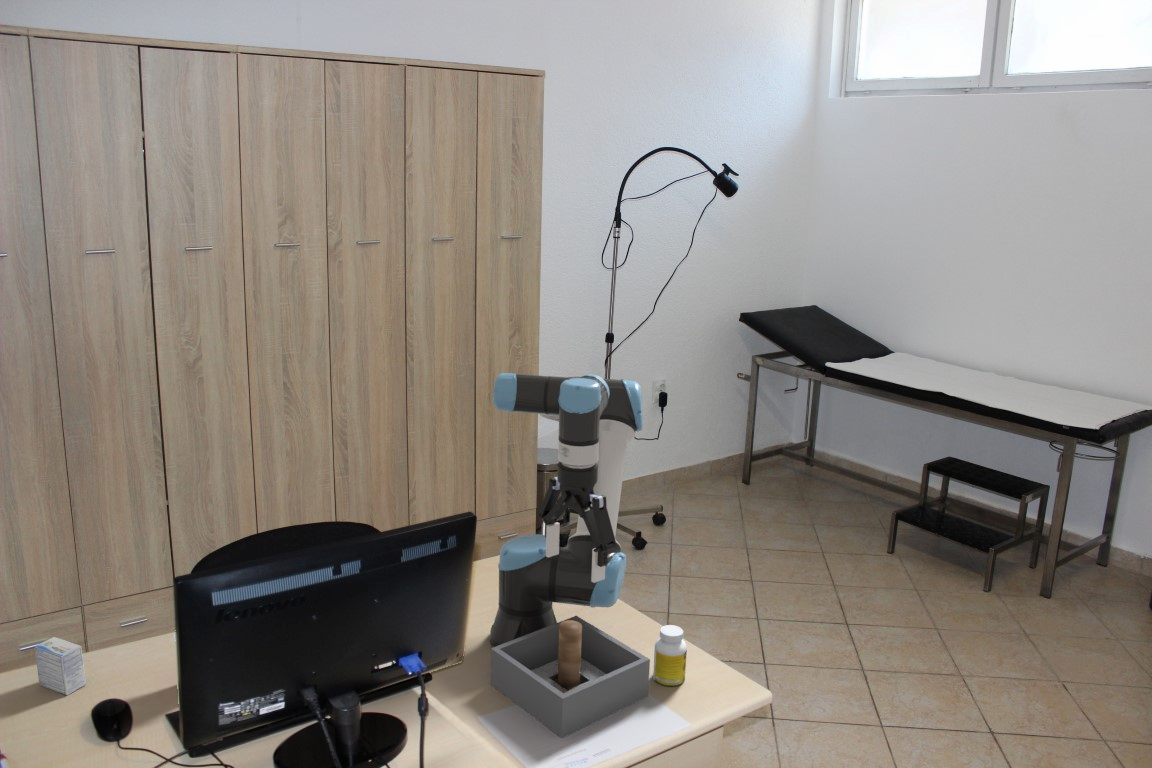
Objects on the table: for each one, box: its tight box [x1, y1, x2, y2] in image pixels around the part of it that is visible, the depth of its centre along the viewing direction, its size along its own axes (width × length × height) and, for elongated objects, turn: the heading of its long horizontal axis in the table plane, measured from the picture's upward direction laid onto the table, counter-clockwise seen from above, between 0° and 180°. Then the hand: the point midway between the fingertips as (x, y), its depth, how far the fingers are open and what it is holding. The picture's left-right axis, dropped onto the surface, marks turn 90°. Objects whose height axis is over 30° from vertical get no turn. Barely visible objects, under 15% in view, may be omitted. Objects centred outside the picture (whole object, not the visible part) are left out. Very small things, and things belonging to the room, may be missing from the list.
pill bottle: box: [652, 624, 688, 688], centre depth 188 cm, size 6×6×12 cm
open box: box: [490, 615, 651, 739], centre depth 183 cm, size 22×22×9 cm
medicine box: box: [34, 636, 87, 696], centre depth 181 cm, size 8×4×9 cm, turn 65°
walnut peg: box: [558, 620, 582, 691], centre depth 182 cm, size 4×4×14 cm
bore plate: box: [531, 658, 606, 693], centre depth 184 cm, size 14×14×2 cm
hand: (574, 567), depth 178 cm, fingers open, 13 cm apart
